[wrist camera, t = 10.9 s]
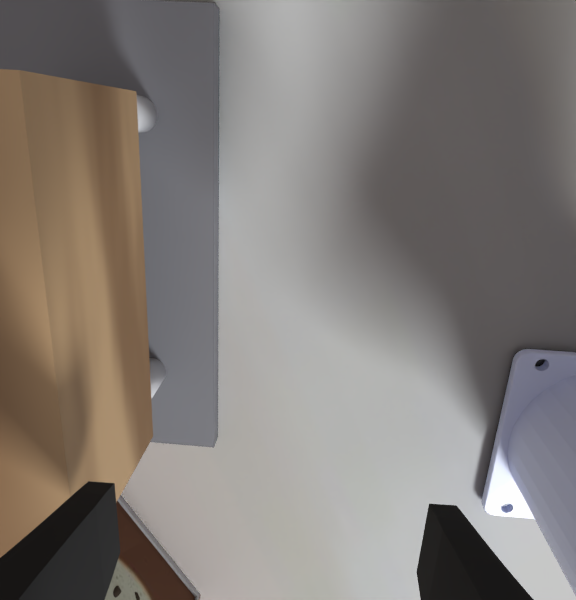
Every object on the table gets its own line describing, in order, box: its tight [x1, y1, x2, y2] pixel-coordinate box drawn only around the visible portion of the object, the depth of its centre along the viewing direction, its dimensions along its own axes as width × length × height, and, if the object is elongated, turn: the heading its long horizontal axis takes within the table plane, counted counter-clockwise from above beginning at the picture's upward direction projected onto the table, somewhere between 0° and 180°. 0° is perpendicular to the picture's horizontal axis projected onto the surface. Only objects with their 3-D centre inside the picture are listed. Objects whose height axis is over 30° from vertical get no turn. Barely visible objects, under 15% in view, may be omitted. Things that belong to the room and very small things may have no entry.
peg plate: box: [0, 0, 219, 447], centre depth 18 cm, size 8×17×3 cm, turn 177°
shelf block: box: [0, 69, 153, 558], centre depth 14 cm, size 4×12×6 cm, turn 177°
